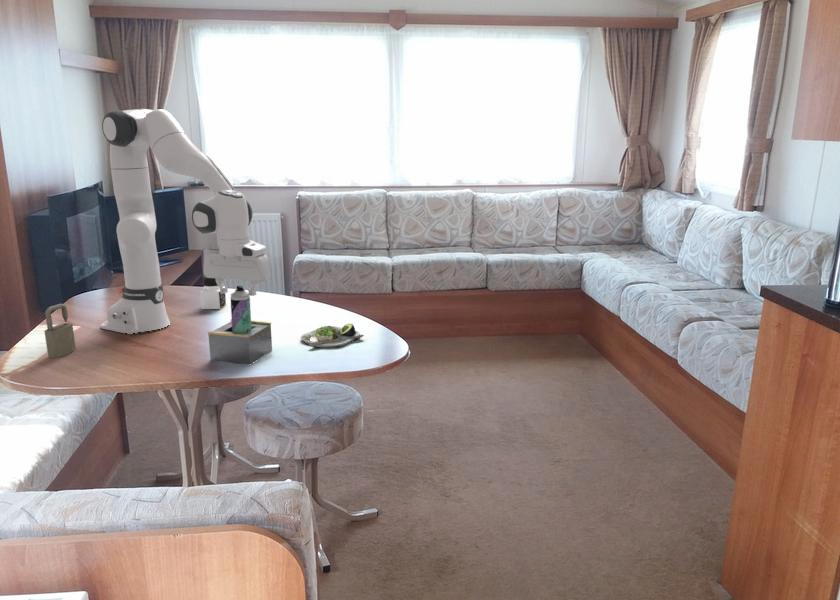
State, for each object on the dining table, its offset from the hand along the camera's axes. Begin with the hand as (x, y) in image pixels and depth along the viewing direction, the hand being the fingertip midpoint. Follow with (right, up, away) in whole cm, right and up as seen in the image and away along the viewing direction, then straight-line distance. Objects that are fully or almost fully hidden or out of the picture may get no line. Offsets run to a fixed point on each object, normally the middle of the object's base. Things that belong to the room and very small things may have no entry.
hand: (238, 294), depth 195 cm
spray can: (+1, -17, +4) cm, 18 cm away
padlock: (-54, -18, +5) cm, 57 cm away
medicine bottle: (-24, -5, +54) cm, 59 cm away
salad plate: (+25, -15, +19) cm, 35 cm away
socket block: (0, -18, +4) cm, 19 cm away
